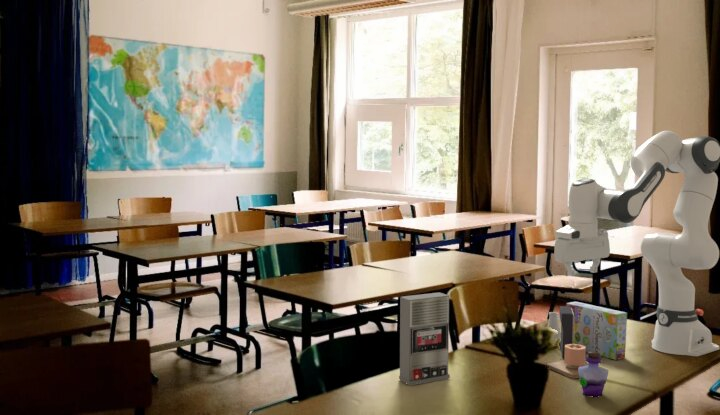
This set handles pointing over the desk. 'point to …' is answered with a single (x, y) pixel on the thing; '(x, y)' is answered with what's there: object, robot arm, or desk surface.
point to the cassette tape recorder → (424, 338)
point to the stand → (565, 368)
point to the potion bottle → (592, 375)
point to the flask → (554, 324)
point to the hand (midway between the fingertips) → (582, 273)
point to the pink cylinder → (574, 354)
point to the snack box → (600, 329)
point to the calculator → (566, 327)
